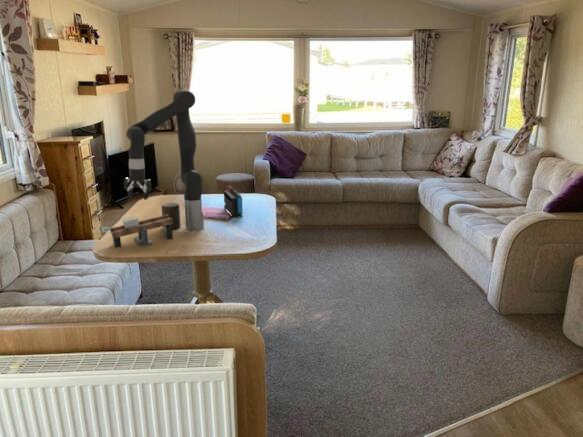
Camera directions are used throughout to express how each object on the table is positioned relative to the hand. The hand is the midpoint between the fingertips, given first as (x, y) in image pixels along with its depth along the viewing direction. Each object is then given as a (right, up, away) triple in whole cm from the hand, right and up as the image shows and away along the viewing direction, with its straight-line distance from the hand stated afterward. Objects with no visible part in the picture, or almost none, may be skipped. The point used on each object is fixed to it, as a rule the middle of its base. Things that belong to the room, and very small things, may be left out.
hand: (138, 198), depth 241 cm
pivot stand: (+2, -22, +3) cm, 22 cm away
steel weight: (-3, -15, -2) cm, 15 cm away
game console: (+42, -7, +54) cm, 69 cm away
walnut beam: (+2, -15, +1) cm, 15 cm away
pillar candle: (+11, -16, +25) cm, 32 cm away
